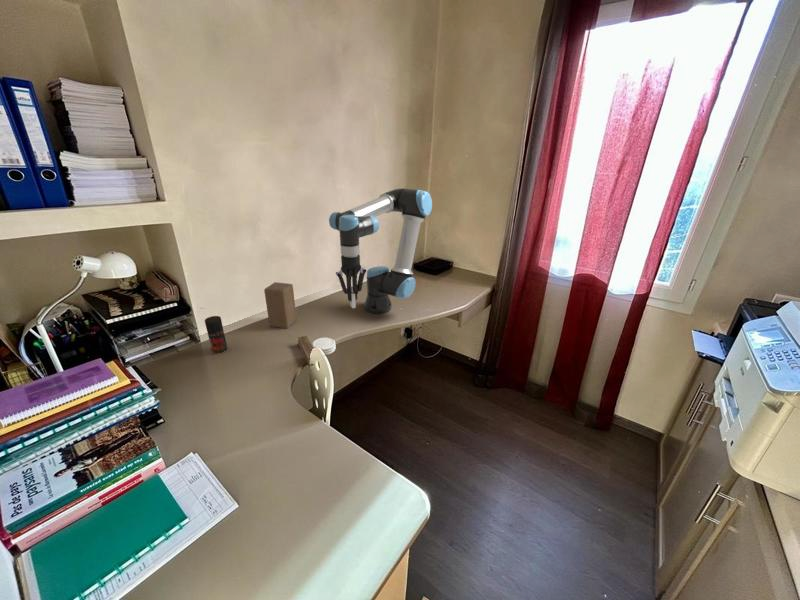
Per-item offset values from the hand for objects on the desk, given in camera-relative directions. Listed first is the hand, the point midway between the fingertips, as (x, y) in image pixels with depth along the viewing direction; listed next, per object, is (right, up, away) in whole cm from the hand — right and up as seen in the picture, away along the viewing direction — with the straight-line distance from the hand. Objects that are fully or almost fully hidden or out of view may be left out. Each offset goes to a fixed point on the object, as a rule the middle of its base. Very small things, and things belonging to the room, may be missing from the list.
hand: (352, 306), depth 146 cm
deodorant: (-57, -19, -2) cm, 60 cm away
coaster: (-13, -19, +1) cm, 23 cm away
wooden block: (-38, -9, +22) cm, 44 cm away
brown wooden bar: (-19, -20, -2) cm, 28 cm away
